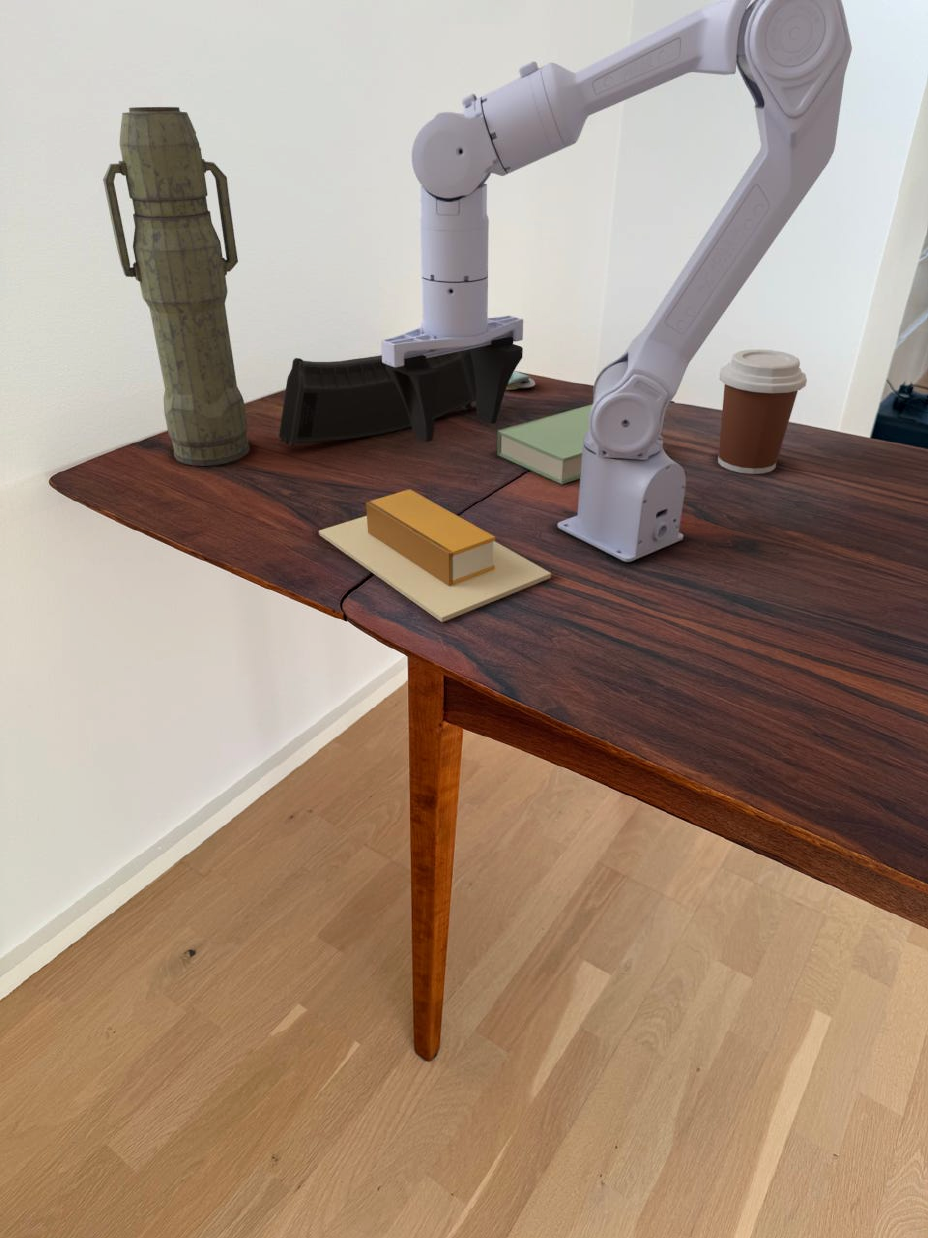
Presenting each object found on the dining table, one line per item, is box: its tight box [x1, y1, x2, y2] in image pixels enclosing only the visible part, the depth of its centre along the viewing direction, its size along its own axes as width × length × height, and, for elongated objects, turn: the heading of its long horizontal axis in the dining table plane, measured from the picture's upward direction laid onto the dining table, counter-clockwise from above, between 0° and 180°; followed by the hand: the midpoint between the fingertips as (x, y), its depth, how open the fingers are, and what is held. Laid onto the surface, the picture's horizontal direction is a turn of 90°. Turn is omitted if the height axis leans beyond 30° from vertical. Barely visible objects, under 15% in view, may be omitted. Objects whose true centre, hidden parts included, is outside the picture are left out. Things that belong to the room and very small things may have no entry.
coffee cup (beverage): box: [717, 349, 808, 475], centre depth 94 cm, size 9×9×12 cm
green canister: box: [102, 106, 250, 467], centre depth 91 cm, size 9×12×35 cm
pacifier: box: [506, 370, 536, 391], centre depth 121 cm, size 7×6×6 cm
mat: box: [318, 515, 552, 623], centre depth 78 cm, size 20×12×1 cm, turn 38°
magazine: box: [278, 349, 476, 446], centre depth 105 cm, size 17×3×30 cm
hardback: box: [496, 403, 664, 485], centre depth 99 cm, size 16×11×3 cm
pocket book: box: [365, 489, 496, 586], centre depth 77 cm, size 13×5×3 cm, turn 38°
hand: (455, 429), depth 80 cm, fingers open, 7 cm apart
